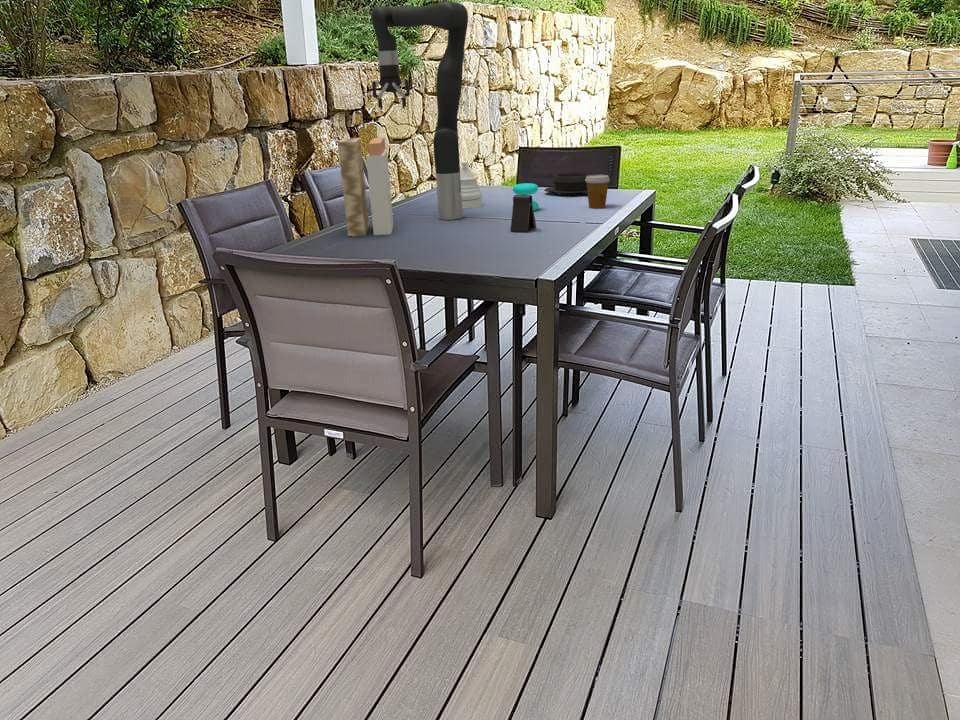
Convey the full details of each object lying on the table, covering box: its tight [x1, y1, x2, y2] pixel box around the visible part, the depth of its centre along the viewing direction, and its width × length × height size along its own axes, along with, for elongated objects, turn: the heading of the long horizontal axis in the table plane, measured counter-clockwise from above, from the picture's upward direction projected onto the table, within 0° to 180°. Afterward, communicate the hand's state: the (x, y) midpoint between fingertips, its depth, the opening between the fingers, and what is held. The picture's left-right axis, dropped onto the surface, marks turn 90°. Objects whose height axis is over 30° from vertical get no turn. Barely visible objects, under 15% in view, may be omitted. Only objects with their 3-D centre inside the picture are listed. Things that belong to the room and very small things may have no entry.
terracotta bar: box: [367, 137, 386, 156], centre depth 264 cm, size 4×24×4 cm, turn 3°
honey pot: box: [460, 161, 483, 210], centre depth 307 cm, size 13×13×18 cm
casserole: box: [543, 171, 590, 197], centre depth 326 cm, size 25×19×8 cm
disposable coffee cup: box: [585, 174, 611, 210], centre depth 292 cm, size 10×10×12 cm
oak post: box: [337, 137, 370, 237], centre depth 264 cm, size 6×16×32 cm, turn 3°
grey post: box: [365, 150, 394, 236], centre depth 265 cm, size 6×16×27 cm, turn 3°
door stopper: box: [510, 194, 537, 234], centre depth 257 cm, size 9×6×12 cm, turn 153°
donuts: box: [512, 182, 539, 212], centre depth 293 cm, size 10×10×10 cm
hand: (392, 108), depth 290 cm, fingers open, 8 cm apart
